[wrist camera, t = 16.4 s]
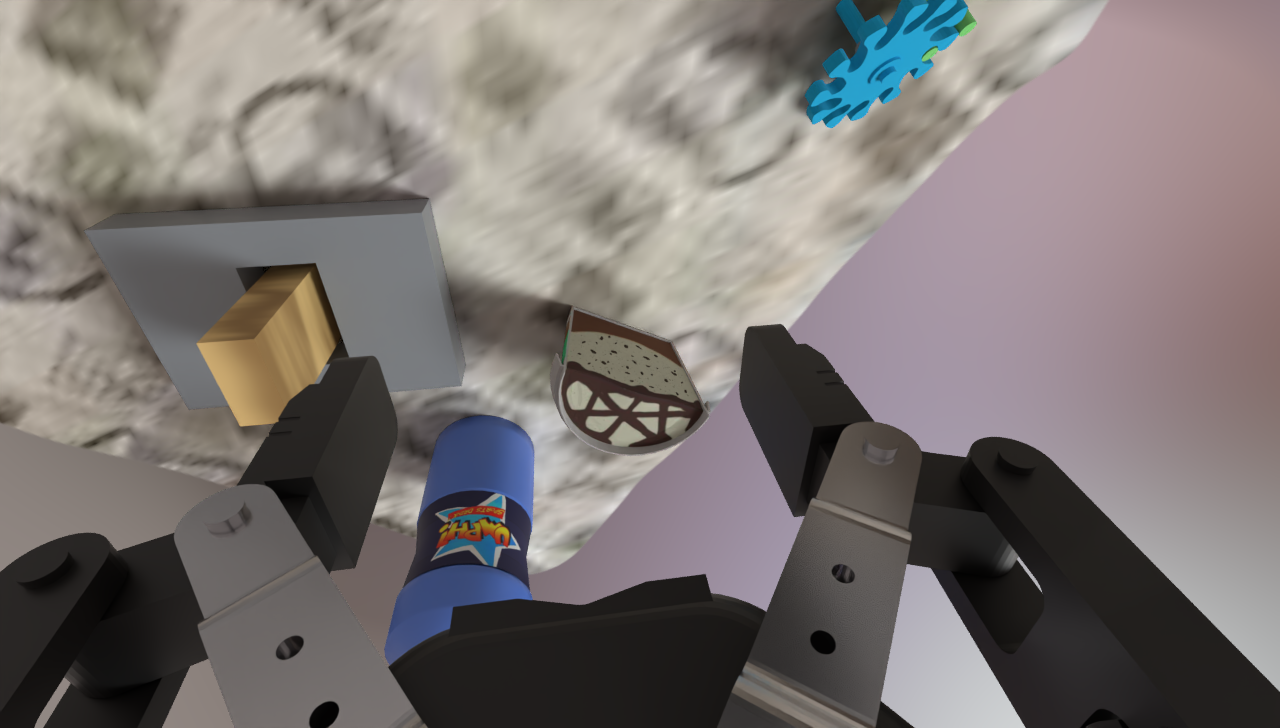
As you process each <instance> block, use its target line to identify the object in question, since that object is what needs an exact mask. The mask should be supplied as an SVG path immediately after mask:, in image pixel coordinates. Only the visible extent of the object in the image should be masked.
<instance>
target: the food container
mask: <svg viewBox="0 0 1280 728" xmlns="http://www.w3.org/2000/svg"><path fill="white" fill-rule="evenodd" d="M550 383H551V391H552V395H553V399H554V401H555V404H556V407H557V409H558V411H559V414H560V416H561V418H562V419H563V421H564V422H565V424H566V425H567V427H568V428H569V429H570V430H571V431H572V432H573V433H574V434H575V435H576V436H577V437H578V438H579V439H580V440H582V441H583V442H585V443H586V444H588V445H590V446H592V447H594V448H596V449H598V450H601V451H604V452H607V453H611V454H617V455H627V456H635V455H646V454H652V453H656V452H659V451H663V450H666V449H668V448H671V447H673V446H676V445H677V444H679V443H681V442H683V441H684V440H686V439H688V438H689V437H690V436H692V435H693V434H694V433H695V432H697V430H699V428H701V427H702V426H703V425H704V423H705V422H706V421H707V420H708V418H709V414H710V406H709V402H708V401H707V402H706V403H705V405H704V403H703V401H702V399H701V397H700V395H699V393H698V391H697V389H696V387H695V385H694V383H693V381H692V379H691V377H690V375H689V374H688V372H687V370H686V368H685V366H684V364H683V362H682V360H681V358H680V356H679V354H678V352H677V350H676V348H675V346H674V344H673V342H672V341H670V340H667V339H665V338H662V337H659V336H656V335H653V334H650V333H648V332H645V331H642V330H639V329H636V328H634V327H631V326H628V325H625V324H622V323H619V322H617V321H614V320H611V319H608V318H605V317H603V316H600V315H597V314H594V313H591V312H588V311H586V310H583V309H580V308H577V307H574V306H571V309H570V312H569V315H568V318H567V325H566V333H565V340H564V348H563V355H562V362H561V360H560V357H559V355H558V353H556V354H555V357H554V360H553V363H552V368H551V374H550Z"/></svg>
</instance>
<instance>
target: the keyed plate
mask: <svg viewBox="0 0 1280 728" xmlns="http://www.w3.org/2000/svg"><path fill="white" fill-rule="evenodd" d="M84 231H85V233H86V235H87V237H88V238H89V240H90V242H91V243H92V245H93V247H94V248H95V250H96V252H97V254H98V255H99V257H100V259H101V260H102V262H103V264H104V266H105V267H106V269H107V271H108V272H109V274H110V276H111V278H112V279H113V281H114V283H115V284H116V286H117V288H118V289H119V291H120V293H121V295H122V296H123V298H124V300H125V301H126V303H127V305H128V307H129V308H130V310H131V312H132V313H133V315H134V317H135V319H136V320H137V322H138V324H139V325H140V327H141V329H142V330H143V332H144V334H145V336H146V337H147V339H148V341H149V342H150V344H151V346H152V348H153V349H154V351H155V353H156V354H157V356H158V358H159V359H160V361H161V363H162V365H163V366H164V368H165V370H166V371H167V373H168V375H169V377H170V378H171V380H172V382H173V383H174V385H175V387H176V389H177V390H178V392H179V394H180V395H181V397H182V399H183V400H184V402H185V404H186V406H187V407H188V409H189V410H190V409H201V408H213V407H224V406H229V404H228V402H227V400H226V399H225V397H224V395H223V393H222V391H221V389H220V387H219V385H218V384H217V382H216V380H215V378H214V376H213V374H212V372H211V370H210V368H209V367H208V365H207V363H206V361H205V359H204V357H203V355H202V353H201V351H200V350H199V348H198V346H197V344H196V343H197V342H198V341H199V340H200V339H201V338H202V337H203V336H204V335H205V334H206V333H207V332H208V331H209V330H210V329H211V328H212V327H213V326H214V325H215V324H216V323H217V321H218V320H219V319H220V318H221V317H222V316H223V315H224V314H225V313H226V312H227V311H228V310H229V309H230V308H231V307H232V306H233V305H234V304H235V303H236V302H237V301H238V300H239V299H240V298H241V297H242V296H243V295H244V294H245V293H246V292H247V291H248V290H249V289H250V288H251V287H252V286H253V285H254V284H255V283H256V282H257V281H258V280H259V279H260V277H261V276H262V275H263V274H264V271H263V269H262V266H275V265H291V264H308V263H316V265H317V268H318V271H319V274H320V277H321V279H322V282H323V285H324V288H325V291H326V293H327V296H328V299H329V302H330V305H331V307H332V310H333V313H334V316H335V319H336V321H337V324H338V327H339V330H340V333H341V335H342V338H343V341H344V343H338V344H337V345H336V347H335V349H334V351H333V352H332V354H331V356H330V357H329V359H328V361H327V363H326V364H325V366H324V368H323V370H322V371H321V373H320V375H319V376H318V378H317V380H316V382H315V383H314V384H319V383H320V381H321V380H322V378H323V376H324V374H325V373H326V371H327V369H328V367H329V366H330V364H331V362H332V361H333V360H334V359H336V358H348V357H361V356H375V357H376V358H377V360H378V362H379V364H380V367H381V370H382V373H383V376H384V379H385V382H386V385H387V388H388V391H389V392H398V391H409V390H421V389H432V388H444V387H455V386H462V381H463V376H464V372H465V367H466V363H465V359H464V354H463V350H462V345H461V340H460V336H459V331H458V327H457V322H456V318H455V313H454V308H453V304H452V299H451V295H450V290H449V286H448V281H447V276H446V272H445V267H444V263H443V258H442V254H441V249H440V245H439V240H438V235H437V231H436V226H435V222H434V217H433V213H432V208H431V203H430V199H412V200H392V201H372V202H351V203H331V204H311V205H291V206H271V207H250V208H230V209H210V210H190V211H170V212H149V213H129V214H114V215H112V216H111V217H109V218H107V219H105V220H103V221H101V222H99V223H97V224H95V225H94V226H92V227H90V228H88V229H86V230H84Z"/></svg>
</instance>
